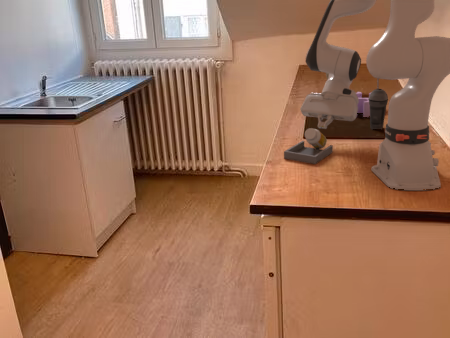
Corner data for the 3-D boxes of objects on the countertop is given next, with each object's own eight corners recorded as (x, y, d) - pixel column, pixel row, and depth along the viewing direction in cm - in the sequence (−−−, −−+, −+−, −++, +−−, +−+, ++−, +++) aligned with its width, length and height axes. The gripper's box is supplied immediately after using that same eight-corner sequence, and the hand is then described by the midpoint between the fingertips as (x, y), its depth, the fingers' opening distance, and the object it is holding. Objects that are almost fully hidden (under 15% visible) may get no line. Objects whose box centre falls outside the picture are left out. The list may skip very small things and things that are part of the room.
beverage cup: (373, 132, 179) (376, 80, 171) (363, 127, 185) (365, 76, 178) (390, 129, 180) (393, 77, 173) (379, 124, 187) (382, 74, 180)
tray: (302, 147, 167) (302, 140, 166) (332, 152, 160) (332, 145, 159) (284, 158, 157) (283, 151, 156) (315, 164, 150) (315, 156, 149)
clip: (374, 118, 196) (375, 102, 194) (344, 117, 201) (345, 101, 199) (379, 107, 214) (380, 92, 211) (351, 106, 218) (352, 91, 216)
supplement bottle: (316, 152, 164) (306, 144, 156) (310, 139, 166) (299, 131, 158) (329, 144, 162) (320, 135, 154) (323, 131, 164) (313, 123, 156)
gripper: (305, 87, 170) (292, 119, 166) (359, 91, 158) (346, 126, 155) (310, 97, 175) (298, 128, 171) (363, 101, 163) (351, 135, 160)
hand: (321, 127), depth 163 cm, fingers closed
